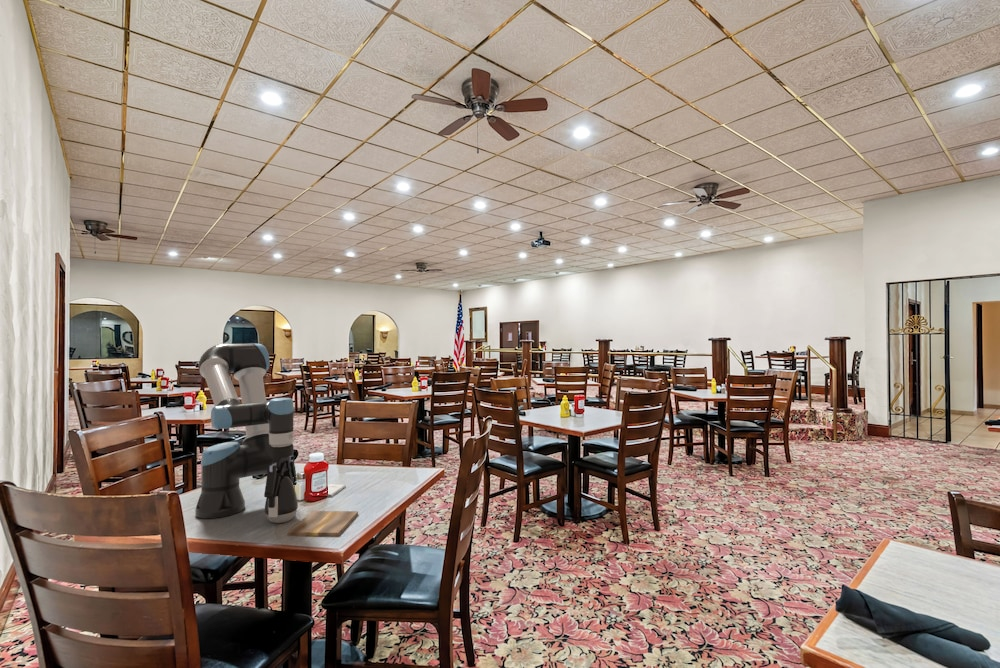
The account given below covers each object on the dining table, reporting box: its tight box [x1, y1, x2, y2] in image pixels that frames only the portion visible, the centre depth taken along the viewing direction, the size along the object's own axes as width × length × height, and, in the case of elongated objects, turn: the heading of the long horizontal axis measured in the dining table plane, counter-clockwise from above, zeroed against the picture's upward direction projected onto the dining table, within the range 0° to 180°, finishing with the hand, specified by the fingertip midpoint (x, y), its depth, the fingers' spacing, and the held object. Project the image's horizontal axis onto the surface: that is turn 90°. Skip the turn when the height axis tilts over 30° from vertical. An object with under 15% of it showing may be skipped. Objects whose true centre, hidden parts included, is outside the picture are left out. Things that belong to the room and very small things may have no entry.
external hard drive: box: [327, 483, 346, 498], centre depth 189 cm, size 2×8×12 cm
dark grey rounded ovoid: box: [264, 475, 299, 524], centre depth 159 cm, size 10×10×15 cm
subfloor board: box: [287, 510, 359, 537], centre depth 156 cm, size 16×18×1 cm
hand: (281, 510), depth 159 cm, fingers closed on dark grey rounded ovoid, 10 cm apart
